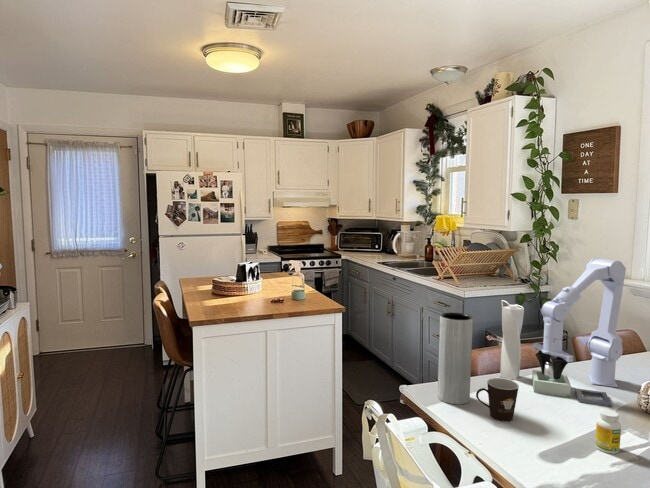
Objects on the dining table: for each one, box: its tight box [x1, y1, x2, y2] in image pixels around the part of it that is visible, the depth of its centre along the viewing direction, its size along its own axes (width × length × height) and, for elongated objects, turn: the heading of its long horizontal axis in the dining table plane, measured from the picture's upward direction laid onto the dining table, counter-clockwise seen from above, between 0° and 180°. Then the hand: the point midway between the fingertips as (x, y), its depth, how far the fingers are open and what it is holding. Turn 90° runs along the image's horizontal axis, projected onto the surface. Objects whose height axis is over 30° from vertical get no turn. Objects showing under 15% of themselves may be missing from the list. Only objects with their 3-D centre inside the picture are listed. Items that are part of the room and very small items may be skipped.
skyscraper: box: [499, 299, 525, 381], centre depth 167 cm, size 8×8×28 cm
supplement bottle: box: [594, 409, 622, 455], centre depth 118 cm, size 5×5×10 cm
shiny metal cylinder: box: [544, 359, 558, 382], centre depth 157 cm, size 4×4×7 cm
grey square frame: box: [574, 387, 612, 408], centre depth 149 cm, size 9×9×1 cm
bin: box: [531, 369, 572, 398], centre depth 157 cm, size 11×11×4 cm
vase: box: [437, 312, 474, 405], centre depth 147 cm, size 10×10×27 cm
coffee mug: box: [475, 377, 520, 423], centre depth 136 cm, size 12×9×10 cm
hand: (550, 376), depth 157 cm, fingers closed on shiny metal cylinder, 4 cm apart
